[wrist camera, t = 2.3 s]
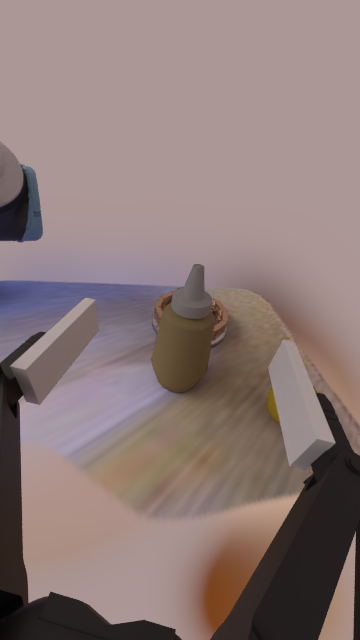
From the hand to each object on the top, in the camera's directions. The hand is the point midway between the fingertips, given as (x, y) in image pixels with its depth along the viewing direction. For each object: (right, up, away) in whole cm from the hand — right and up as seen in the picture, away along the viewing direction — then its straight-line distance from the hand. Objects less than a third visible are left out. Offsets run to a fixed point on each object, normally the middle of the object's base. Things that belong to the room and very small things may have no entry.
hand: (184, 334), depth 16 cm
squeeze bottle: (-1, -8, +18) cm, 20 cm away
